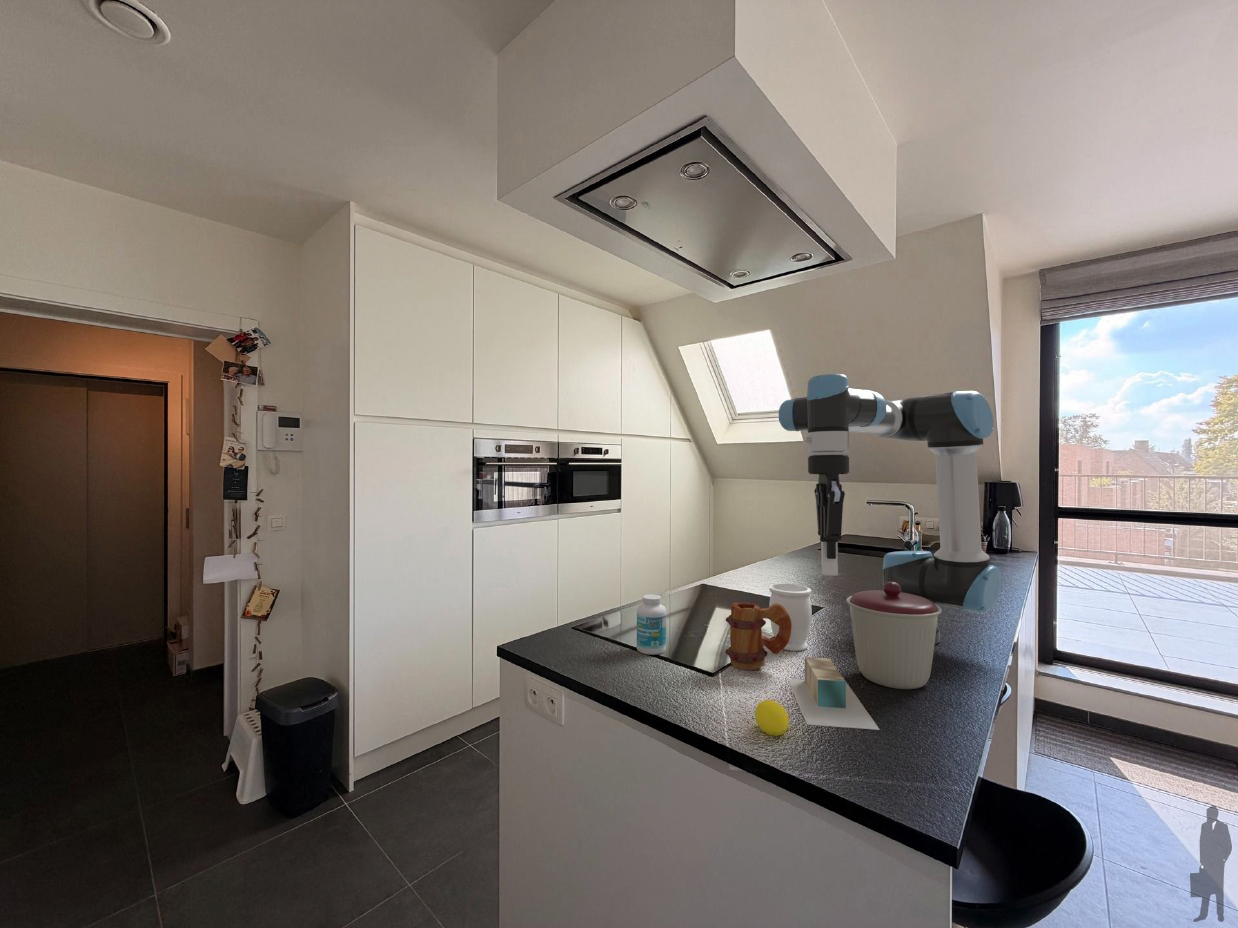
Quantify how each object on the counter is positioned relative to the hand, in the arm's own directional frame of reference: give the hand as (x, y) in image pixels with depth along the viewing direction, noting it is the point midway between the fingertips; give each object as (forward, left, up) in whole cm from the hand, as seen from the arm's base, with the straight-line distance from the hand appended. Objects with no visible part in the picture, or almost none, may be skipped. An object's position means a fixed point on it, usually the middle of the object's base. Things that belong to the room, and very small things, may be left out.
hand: (829, 574), depth 101 cm
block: (+1, +4, -22) cm, 22 cm away
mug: (+12, -15, -25) cm, 31 cm away
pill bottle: (+37, -23, -25) cm, 50 cm away
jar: (+2, -32, -25) cm, 41 cm away
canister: (-16, -13, -25) cm, 32 cm away
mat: (+1, +1, -25) cm, 25 cm away
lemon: (+13, +14, -25) cm, 31 cm away
